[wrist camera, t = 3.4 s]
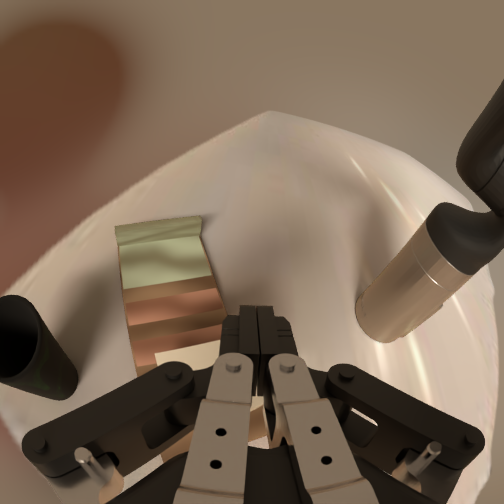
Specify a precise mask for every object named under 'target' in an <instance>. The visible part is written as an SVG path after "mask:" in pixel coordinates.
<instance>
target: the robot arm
mask: <svg viewBox="0 0 504 504" xmlns="http://www.w3.org/2000/svg"><path fill="white" fill-rule="evenodd" d="M456 168H457V172H458V174H459V176H460V177H461V178H462V180H463V181H464V182H465V184H466V185H467V186H468V187H469V188H470V189H471V190H472V191H473V192H475V194H476V195H477V196H478V197H479V198H480V199H481V200H482V201H484V202H485V203H486V205H487V206H488V207H489V208H490V209H491V211H490V212H487V213H478V212H473V211H469V210H466V209H464V208H462V207H459V206H457V205H454V204H452V203H447V202H443V203H440V204H438V205H437V206H436V207H435V208H434V209H433V210H432V212H431V213H430V214H429V216H428V217H427V218H426V220H425V221H424V222H423V223H422V225H421V226H420V227H419V229H418V230H417V231H416V232H415V234H414V235H413V236H412V237H411V239H410V240H409V241H408V242H407V244H406V245H405V246H404V247H403V248H402V250H401V251H400V252H399V253H398V254H397V256H396V257H395V258H394V259H393V260H392V261H391V263H390V264H389V265H388V266H387V267H386V268H385V269H384V270H383V272H382V273H381V274H380V275H379V276H378V277H377V278H376V279H375V280H374V282H373V283H372V284H371V285H370V286H369V287H368V288H367V289H366V290H365V291H364V292H363V293H362V294H361V295H360V297H359V298H358V300H357V302H356V317H357V319H358V322H359V324H360V326H361V328H362V329H363V330H364V332H365V333H366V334H367V335H368V336H369V337H371V338H372V339H374V340H376V341H378V342H382V343H390V342H392V341H394V340H396V339H397V338H399V337H404V336H406V335H407V334H408V333H410V332H411V331H413V330H414V329H415V328H417V327H418V326H419V325H421V324H422V323H423V322H424V321H426V320H427V319H428V318H430V317H431V316H432V315H433V314H435V313H436V312H437V311H438V310H440V309H441V308H442V306H443V303H444V302H445V301H446V300H447V299H448V298H449V297H451V296H452V295H453V294H454V293H455V292H456V291H457V290H459V288H461V287H462V286H463V285H464V284H465V283H466V282H467V281H468V280H469V279H470V278H471V277H472V276H473V275H474V274H475V273H477V272H478V271H479V270H480V269H481V268H482V267H483V266H484V265H486V264H487V263H489V262H490V261H491V260H492V259H493V258H495V257H496V256H497V255H498V254H499V253H500V251H501V250H502V249H503V248H504V80H503V81H502V83H501V85H500V86H499V88H498V89H497V91H496V92H495V94H494V96H493V97H492V99H491V100H490V101H489V103H488V104H487V106H486V107H485V109H484V110H483V112H482V113H481V114H480V116H479V117H478V119H477V120H476V122H475V123H474V124H473V126H472V128H471V129H470V130H469V132H468V133H467V135H466V137H465V139H464V140H463V142H462V144H461V147H460V149H459V152H458V156H457V161H456ZM256 386H257V396H263V399H264V404H263V416H264V421H265V427H266V432H267V437H268V443H269V449H262V448H256V447H251V446H248V434H249V420H250V408H251V406H252V396H256ZM352 408H354V409H356V410H357V411H359V412H361V413H362V414H364V415H366V416H367V417H369V418H371V419H373V420H374V421H375V422H376V423H377V425H378V426H376V425H374V424H373V423H371V422H369V421H368V420H366V419H364V418H363V417H361V416H359V415H358V414H356V413H354V412H353V411H351V410H352ZM193 430H194V432H193V436H192V440H191V444H190V448H189V451H187V452H184V453H181V454H179V455H176V456H174V457H172V458H171V459H169V460H168V461H166V462H165V463H163V464H162V465H161V466H159V467H158V468H157V469H155V470H154V471H153V472H151V473H150V474H148V475H147V476H146V477H144V478H143V479H141V480H140V481H139V482H137V483H136V484H134V485H133V486H131V487H130V488H128V489H127V490H125V491H124V492H122V493H121V494H119V493H120V492H121V491H122V490H123V487H124V479H123V477H125V476H126V475H128V474H130V473H131V472H133V471H134V470H136V469H138V468H139V467H141V466H142V465H144V464H145V463H147V462H148V461H150V460H151V459H153V458H154V457H156V456H157V455H159V454H160V453H162V452H163V451H165V450H166V449H168V448H169V447H171V446H172V445H173V444H175V443H176V442H178V441H179V440H180V439H182V438H183V437H184V436H186V435H187V434H188V433H190V432H191V431H193ZM484 446H485V438H484V435H483V434H482V432H481V431H480V430H479V429H478V428H476V427H474V426H472V425H470V424H467V423H465V422H463V421H461V420H459V419H457V418H454V417H452V416H450V415H448V414H446V413H444V412H442V411H440V410H438V409H436V408H434V407H432V406H430V405H428V404H426V403H424V402H422V401H420V400H418V399H416V398H414V397H412V396H410V395H408V394H406V393H404V392H402V391H400V390H398V389H396V388H394V387H393V386H391V385H389V384H387V383H385V382H383V381H381V380H379V379H378V378H376V377H374V376H372V375H370V374H368V373H366V372H365V371H363V370H361V369H359V368H357V367H356V366H353V365H350V364H337V365H334V366H332V367H331V368H330V369H329V371H328V372H324V371H318V370H314V369H311V368H309V367H307V365H306V363H305V361H304V360H303V359H302V358H300V357H299V356H298V352H297V348H296V345H295V341H294V337H293V333H292V329H291V326H290V323H289V322H288V321H287V320H286V319H285V318H284V317H275V316H274V311H273V306H252V305H240V312H239V316H236V315H228V316H227V317H226V318H225V319H224V320H223V322H222V330H221V339H220V348H219V357H218V358H217V359H216V360H215V363H214V364H213V365H212V366H210V367H208V368H205V369H200V370H192V368H191V367H190V366H189V365H188V364H186V363H183V362H179V361H170V362H166V363H163V364H161V365H159V366H157V367H156V368H154V369H152V370H150V371H148V372H147V373H145V374H143V375H141V376H139V377H137V378H136V379H134V380H132V381H130V382H128V383H126V384H124V385H123V386H121V387H119V388H117V389H115V390H113V391H111V392H109V393H107V394H105V395H103V396H101V397H99V398H97V399H95V400H94V401H92V402H90V403H88V404H86V405H83V406H81V407H79V408H77V409H75V410H73V411H71V412H69V413H67V414H65V415H63V416H61V417H59V418H56V419H54V420H52V421H50V422H48V423H46V424H43V425H41V426H39V427H37V428H34V429H32V430H30V431H29V432H28V433H27V434H26V435H25V436H24V438H23V440H22V451H23V453H24V455H25V456H26V458H27V459H28V460H29V461H30V462H31V463H32V464H33V465H34V466H35V467H36V468H37V470H38V471H39V472H40V473H41V474H42V475H43V476H44V477H45V478H46V479H47V480H48V482H49V483H50V485H51V487H52V488H53V490H54V492H55V493H56V495H57V496H58V498H59V499H60V501H61V503H62V504H446V503H447V501H448V499H449V498H450V496H451V494H452V492H453V490H454V488H455V486H456V484H457V482H458V479H459V477H460V475H461V473H462V471H463V469H464V468H465V467H466V466H467V465H469V464H470V463H471V462H472V461H473V460H474V459H475V458H476V457H477V456H478V454H479V453H480V452H481V451H482V450H483V448H484ZM351 451H352V452H351ZM379 468H380V469H379ZM384 471H385V472H384ZM387 473H388V474H387ZM389 474H390V475H389ZM391 475H392V476H391ZM118 494H119V495H118ZM117 495H118V496H117Z"/></svg>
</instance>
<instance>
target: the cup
mask: <svg viewBox="0 0 504 504" xmlns="http://www.w3.org/2000/svg"><path fill="white" fill-rule="evenodd" d="M0 382H1V383H3V384H6V385H9V386H11V387H14V388H17V389H20V390H23V391H26V392H29V393H32V394H35V395H39V396H42V397H46V398H49V399H53V400H58V401H60V400H65V399H67V398H69V397H70V396H71V395H73V393H74V392H75V390H76V387H77V383H78V375H77V371H76V368H75V367H74V365H73V363H72V362H71V361H70V359H69V358H68V357H67V355H66V354H65V353H64V351H63V350H62V348H61V347H60V346H59V344H58V343H57V341H56V340H55V338H54V337H53V335H52V334H51V332H50V331H49V329H48V328H47V326H46V325H45V323H44V321H43V320H42V318H41V316H40V315H39V313H38V311H37V310H36V309H35V307H34V306H33V304H32V303H31V302H29V301H28V300H27V299H26V298H24V297H21V296H19V295H7V296H3V297H1V298H0Z"/></svg>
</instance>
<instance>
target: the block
mask: <svg viewBox="0 0 504 504" xmlns="http://www.w3.org/2000/svg"><path fill="white" fill-rule="evenodd" d="M219 348H220V340H217V341H213V342H208V343H204V344H199V345H195V346H190V347H185V348H180V349H176V350H170V351H165V352H160V353H155V358H156V362H157V365H158V366H159V365H161V364H163V363H166V362H170V361H179V362H183V363H186V364H188V365H189V366H190V367H191V368H192V370H200V369H205V368H208V367H210V366H212V365H213V364H214V363H215V360H216V359H217V358H218V357H219ZM263 404H264V399H263V396H257V386H256V396H252V406H251V408H250V412H251V411H253V410H255V409H256V408H258V407H260V406H262V405H263Z"/></svg>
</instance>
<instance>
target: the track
mask: <svg viewBox="0 0 504 504" xmlns="http://www.w3.org/2000/svg"><path fill="white" fill-rule="evenodd" d="M201 224H202V219H201V216H192V217H183V218H175V219H166V220H158V221H150V222H142V223H134V224H127V225H119V226H115V235H116V240H117V245H118V256H119V267H120V277H121V286H122V294H123V302H124V309H125V315H126V322H127V328H128V333H129V339H130V344H131V349H132V354H133V359H134V363H135V368H136V372H137V377H139V376H141V375H143V374H145V373H147V372H148V371H150V370H152V369H154V368H156V367H157V366H158V365H157V362H156V358H155V353H160V352H165V351H170V350H176V349H180V348H185V347H190V346H195V345H199V344H204V343H208V342H213V341H217V340H220V339H221V330H222V322H223V320H224V319H225V318H226V317H227V316H228V315H227V312H226V309H225V307H224V304H223V301H222V298H221V296H220V293H219V290H218V287H217V284H216V281H215V279H214V276H213V273H212V270H211V267H210V264H209V261H208V258H207V255H206V252H205V249H204V246H203V243H202V240H201V237H200V231H201ZM193 432H194V430H193V431H191V432H190V433H188V434H187V435H186V436H184V437H183V438H182V439H180V440H179V441H178V442H176V443H175V444H173V445H172V446H171V447H169V448H168V449H166V450H165V451H163V452H162V453H160V454H161V457H162V459H163V462H164V463H165V462H166V461H168V460H169V459H171V458H172V457H174V456H176V455H179V454H181V453H184V452H187V451H189V448H190V444H191V440H192V436H193ZM266 435H267V432H266V427H265V421H264V416H263V405H262V406H260V407H258V408H256V409H255V410H253V411H251V412H250V420H249V434H248V442H250V441H253V440H255V439H258V438H261V437H264V436H266Z"/></svg>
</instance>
